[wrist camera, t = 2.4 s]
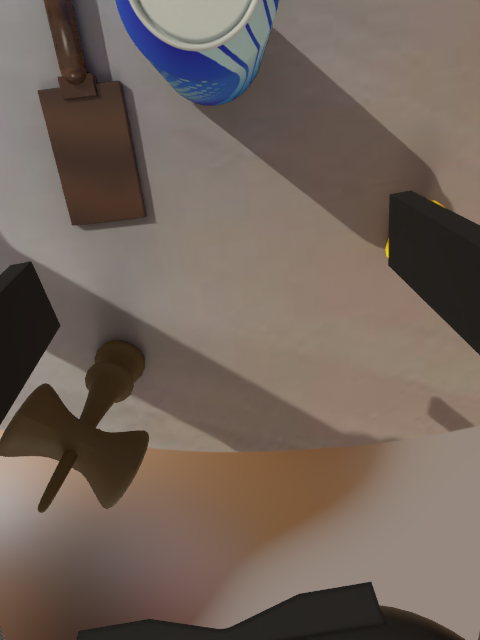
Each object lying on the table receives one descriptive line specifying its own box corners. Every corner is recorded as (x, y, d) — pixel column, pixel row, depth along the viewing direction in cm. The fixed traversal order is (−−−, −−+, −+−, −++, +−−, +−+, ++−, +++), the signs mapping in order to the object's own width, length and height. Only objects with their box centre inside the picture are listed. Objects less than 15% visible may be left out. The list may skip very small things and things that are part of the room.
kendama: (147, 401, 46) (89, 570, 27) (67, 357, 43) (-55, 509, 25) (175, 361, 44) (133, 513, 25) (93, 314, 42) (-17, 443, 23)
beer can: (283, 43, 33) (324, -46, 18) (216, 129, 35) (205, 111, 21) (202, -43, 31) (176, -225, 16) (137, 54, 33) (60, -27, 18)
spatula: (-12, -115, 29) (-29, -133, 27) (82, -127, 29) (72, -146, 27) (74, 224, 38) (66, 228, 36) (146, 216, 38) (142, 219, 36)
